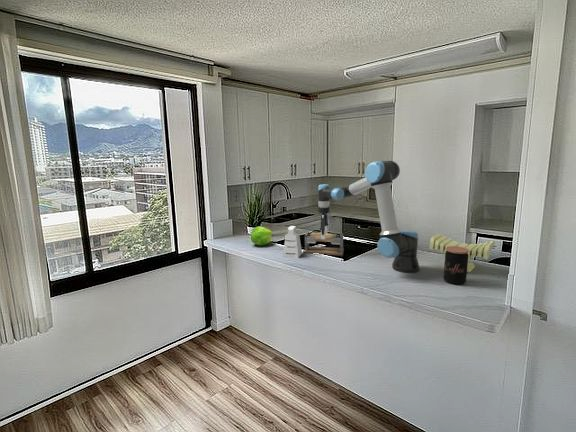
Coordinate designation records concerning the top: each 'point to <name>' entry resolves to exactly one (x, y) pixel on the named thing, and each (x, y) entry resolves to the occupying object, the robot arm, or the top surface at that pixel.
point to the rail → (327, 236)
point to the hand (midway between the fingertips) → (324, 236)
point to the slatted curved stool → (474, 249)
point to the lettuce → (261, 236)
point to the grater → (292, 243)
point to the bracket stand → (324, 249)
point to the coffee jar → (456, 265)
